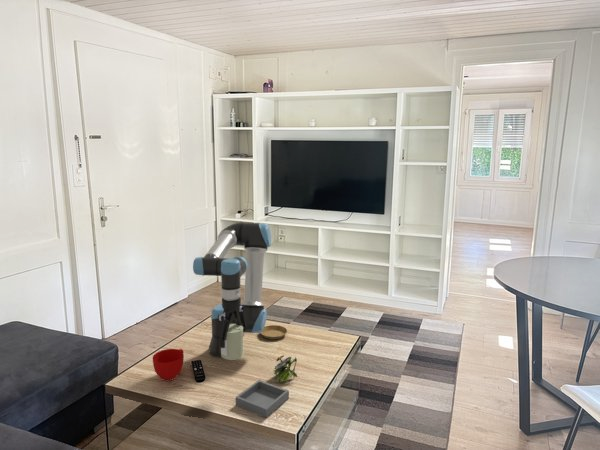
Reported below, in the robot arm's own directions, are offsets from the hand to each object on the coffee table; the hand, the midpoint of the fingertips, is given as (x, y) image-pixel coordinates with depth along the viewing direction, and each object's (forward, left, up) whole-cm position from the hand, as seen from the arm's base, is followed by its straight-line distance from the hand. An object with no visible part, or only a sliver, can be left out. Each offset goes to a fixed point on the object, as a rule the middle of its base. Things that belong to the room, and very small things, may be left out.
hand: (232, 349), depth 178 cm
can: (0, 0, -2) cm, 2 cm away
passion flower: (+13, +20, -18) cm, 30 cm away
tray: (+16, -1, -18) cm, 24 cm away
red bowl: (-31, -6, -18) cm, 36 cm away
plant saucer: (-17, +52, -18) cm, 58 cm away
